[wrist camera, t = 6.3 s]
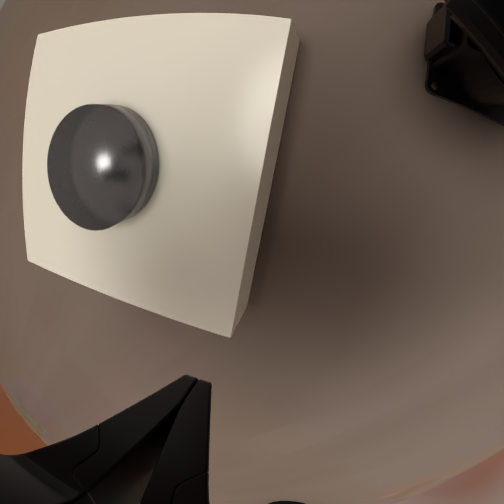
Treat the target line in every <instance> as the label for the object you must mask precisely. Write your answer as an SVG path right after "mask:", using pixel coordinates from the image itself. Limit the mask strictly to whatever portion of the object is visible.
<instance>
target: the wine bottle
mask: <svg viewBox="0 0 504 504" xmlns="http://www.w3.org/2000/svg"><path fill="white" fill-rule="evenodd" d="M270 504H304V503H299V502H291V501H278V502H272V503H270Z"/></svg>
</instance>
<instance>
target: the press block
mask: <svg viewBox="0 0 504 504" xmlns="http://www.w3.org/2000/svg"><path fill="white" fill-rule="evenodd" d="M299 42H300V40H299V37H298V35H297V32H296V30H295V27H294V24H293V22H292V19H287V18H279V17H270V16H260V15H247V14H228V13H177V14H158V15H145V16H135V17H126V18H118V19H111V20H104V21H98V22H92V23H87V24H81V25H76V26H72V27H67V28H63V29H58V30H54V31H50V32H46V33H43V34H39V35H38V37H37V42H36V46H35V51H34V56H33V62H32V67H31V73H30V80H29V87H28V94H27V103H26V112H25V124H24V139H23V212H24V227H25V239H26V249H27V257H28V261H30V262H32V263H34V264H36V265H39V266H41V267H43V268H45V269H47V270H50V271H52V272H54V273H56V274H59V275H61V276H63V277H65V278H68V279H70V280H72V281H75V282H77V283H79V284H82V285H84V286H87V287H89V288H91V289H94V290H96V291H99V292H101V293H104V294H106V295H109V296H111V297H114V298H116V299H119V300H122V301H124V302H127V303H129V304H132V305H135V306H137V307H140V308H143V309H145V310H148V311H151V312H154V313H157V314H159V315H162V316H165V317H168V318H171V319H174V320H176V321H179V322H182V323H185V324H188V325H191V326H194V327H197V328H200V329H203V330H206V331H210V332H213V333H216V334H219V335H222V336H225V337H229V338H231V336H232V335H233V333H234V331H235V329H236V327H237V325H238V323H239V321H240V319H241V317H242V315H243V313H244V311H245V309H246V307H247V304H248V299H249V294H250V289H251V284H252V279H253V274H254V269H255V265H256V260H257V255H258V250H259V245H260V240H261V235H262V230H263V225H264V220H265V215H266V210H267V205H268V200H269V195H270V190H271V185H272V180H273V175H274V170H275V165H276V160H277V155H278V150H279V145H280V140H281V134H282V129H283V124H284V119H285V114H286V109H287V104H288V99H289V94H290V89H291V83H292V78H293V73H294V68H295V63H296V58H297V52H298V47H299ZM87 104H111V105H122V106H125V107H128V108H130V109H132V110H134V111H135V112H136V113H138V114H139V115H140V116H141V117H142V118H143V119H144V120H145V121H146V123H147V124H148V125H149V127H150V129H151V131H152V133H153V135H154V138H155V140H156V144H157V147H158V153H159V174H158V180H157V184H156V187H155V190H154V192H153V195H152V197H151V198H150V200H149V202H148V203H147V204H146V206H145V207H144V208H143V209H142V210H141V211H140V212H139V213H137V214H136V215H135V216H133V217H131V218H129V219H127V220H124V221H122V222H120V223H118V224H116V225H114V226H112V227H110V228H108V229H105V230H99V231H94V230H87V229H84V228H82V227H79V226H78V225H76V224H74V223H73V222H72V221H70V220H69V219H68V218H67V217H66V216H65V215H64V213H63V212H62V211H61V209H60V208H59V206H58V205H57V203H56V201H55V199H54V197H53V194H52V192H51V188H50V185H49V180H48V173H47V157H48V150H49V145H50V142H51V139H52V136H53V133H54V132H55V130H56V128H57V126H58V125H59V123H60V122H61V120H62V119H63V118H64V117H65V116H66V115H67V114H68V113H69V112H71V111H72V110H74V109H75V108H77V107H80V106H83V105H87Z"/></svg>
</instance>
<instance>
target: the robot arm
mask: <svg viewBox="0 0 504 504" xmlns="http://www.w3.org/2000/svg"><path fill="white" fill-rule="evenodd" d="M444 1H445V4H444V3H438V4H436V6H435V7H434V16H433V17H432V19H431V20H430V21H429V22H428V26H427V35H426V44H425V52H424V57H425V58H426V60H427V61H429V62H428V69H427V76H426V82H425V88H426V90H427V91H428V92H429V93H430V94H432V95H435V96H437V97H440V98H442V99H445V100H448V101H450V102H452V103H455V104H457V105H460V106H462V107H464V108H467V109H469V110H471V111H473V112H476V113H478V114H480V115H482V116H484V117H486V118H489V119H491V120H493V121H495V122H497V123H499V124H501V125H503V126H504V0H444ZM439 8H440V9H439ZM431 83H434V84H435V85H436V87H437V89H436V90H433V89H432V88H431ZM211 389H212V384H211V383H210V382H207V381H204V380H201V379H200V380H198V379H197V378H195V377H193V376H190V375H184V376H182V377H180V378H179V379H177V380H175V381H174V382H172V383H170V384H169V385H167V386H165V387H164V388H162V389H160V390H158V391H157V392H155V393H153V394H152V395H150V396H148V397H146V398H145V399H143V400H141V401H139V402H138V403H136V404H134V405H132V406H131V407H129V408H127V409H125V410H123V411H122V412H120V413H118V414H116V415H114V416H113V417H111V418H109V419H107V420H105V421H103V422H102V423H100V424H99V425H96V426H94V427H92V428H90V429H88V430H86V431H84V432H82V433H80V434H78V435H76V436H73V437H71V438H68V439H66V440H63V441H61V442H58V443H55V444H52V445H49V446H46V447H44V448H41V449H37V450H34V451H32V452H28V453H24V454H19V455H3V454H0V504H139V503H140V504H209V485H208V483H209V473H208V472H209V440H210V412H211Z"/></svg>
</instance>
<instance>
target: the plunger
mask: <svg viewBox="0 0 504 504" xmlns="http://www.w3.org/2000/svg"><path fill="white" fill-rule="evenodd" d="M47 173H48V180H49V185H50V188H51V192H52V194H53V197H54V199H55V201H56V203H57V205H58V206H59V208H60V209H61V211H62V212H63V213H64V215H65V216H66V217H67V218H68V219H69V220H70V221H72V222H73V223H74V224H76V225H78V226H79V227H82V228H84V229H87V230H94V231H99V230H105V229H108V228H110V227H112V226H114V225H116V224H118V223H120V222H122V221H124V220H127V219H129V218H131V217H133V216H135V215H136V214H137V213H139V212H140V211H141V210H142V209H143V208H144V207H145V206H146V204H147V203H148V202H149V200H150V198H151V197H152V195H153V192H154V190H155V187H156V184H157V180H158V174H159V153H158V147H157V144H156V140H155V138H154V135H153V133H152V131H151V129H150V127H149V125H148V124H147V123H146V121H145V120H144V119H143V118H142V117H141V116H140V115H139V114H138V113H136V112H135V111H134V110H132V109H130V108H128V107H125V106H122V105H111V104H87V105H83V106H80V107H77V108H75V109H74V110H72V111H71V112H69V113H68V114H67V115H66V116H65V117H64V118H63V119H62V120H61V122H60V123H59V125H58V126H57V128H56V130H55V132H54V133H53V136H52V139H51V142H50V145H49V150H48V157H47Z"/></svg>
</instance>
